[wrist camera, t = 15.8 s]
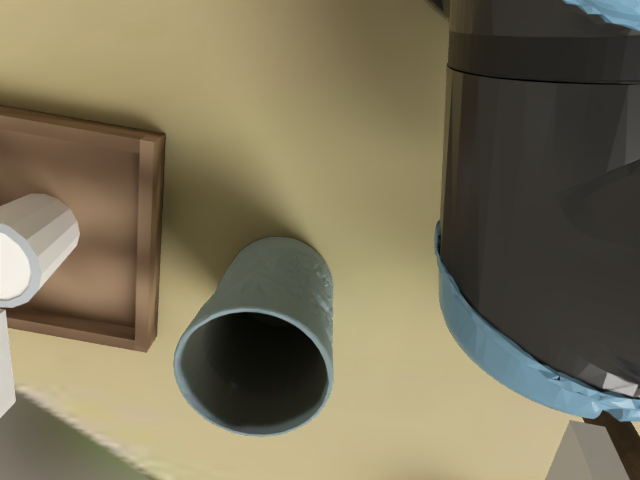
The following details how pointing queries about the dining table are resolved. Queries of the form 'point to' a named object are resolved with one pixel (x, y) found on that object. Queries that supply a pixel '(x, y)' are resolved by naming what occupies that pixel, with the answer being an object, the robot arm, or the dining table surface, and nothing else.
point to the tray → (91, 224)
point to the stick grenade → (622, 441)
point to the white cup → (33, 244)
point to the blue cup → (262, 342)
